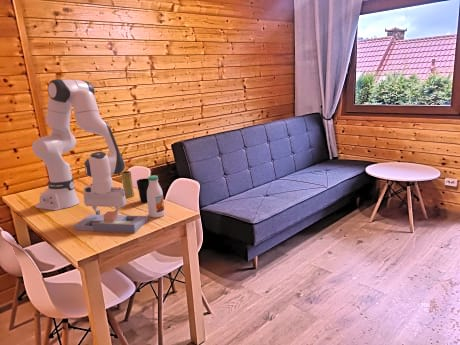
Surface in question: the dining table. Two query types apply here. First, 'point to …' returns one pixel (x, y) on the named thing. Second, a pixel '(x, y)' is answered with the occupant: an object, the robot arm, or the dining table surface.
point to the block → (110, 216)
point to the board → (112, 224)
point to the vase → (127, 183)
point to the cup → (143, 189)
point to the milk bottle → (155, 198)
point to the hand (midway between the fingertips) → (107, 214)
